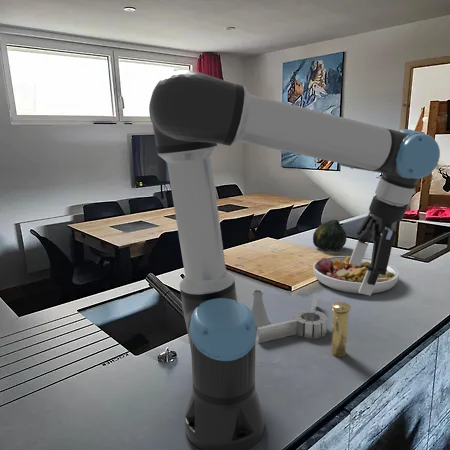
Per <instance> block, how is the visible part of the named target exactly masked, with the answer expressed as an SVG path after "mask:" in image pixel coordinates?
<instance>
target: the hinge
mask: <svg viewBox="0 0 450 450" xmlns="http://www.w3.org/2000/svg"><path fill="white" fill-rule="evenodd" d="M310 304H311V305H310V309H301V310H298V311H295V312H294V313H293V319H290V320H286V321H285V320H284V321H282V322H277V323H271V324H270V325H267V326H262V327H258V328H256V333H257V334H256V343H258V344H261V343H265V342H269V341H274V340H278V339H282V338H283V339H284V338H286V337H291V336H294V335H295V336H296V335H297V336H298V337H299V336H300V337H303V338H305V339H319V338H324V337H325V336H327V333H328V322H329V321H328V320H329V319H328V318H329V317H328V316H327V315H326V314H325V313H324V312H322V311H319V310H317V305H318V294H316V293H313V297H312V301H311V303H310Z"/></svg>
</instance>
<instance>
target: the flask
mask: <svg viewBox="0 0 450 450" xmlns="http://www.w3.org/2000/svg"><path fill="white" fill-rule="evenodd" d="M252 294H253V297H252V302H251V305H250V308H249V309H250V310H251V311H252V313H253V315H254V318H255V325H256V329H257V328H258V327H262V326H267V325H271V324H270V319H269V316H268V314H267V310H266V308H265V305H264V300H263V295H264V290H263V289H259V288H258V289H257V288H256V289H253V290H252Z"/></svg>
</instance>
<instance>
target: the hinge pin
mask: <svg viewBox="0 0 450 450" xmlns="http://www.w3.org/2000/svg"><path fill="white" fill-rule="evenodd" d="M331 310H332V323H331V324H332V328H331V345H330V348H331V349H330V354H331V355H333V356H334V357H337V358H342V357H346V354H347V341H348V328H349V327H348V325H349V313H350V311H351V305H350V304H349V303H346V302H342V301H336V302H332V303H331Z"/></svg>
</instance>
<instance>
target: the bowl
mask: <svg viewBox="0 0 450 450" xmlns="http://www.w3.org/2000/svg"><path fill="white" fill-rule="evenodd" d="M351 256H352V255H349V256H348V255H337V256H329V257H322V258H321V259H318V260H316V261H315V262H314V263H313V265H312V266H313V274H314V276H315V278H316V279H317V280H318V281H319V283H321V284H323V285H324V286H327V287H329V288H330V289H333V290H337V291H340V292H345V293H351V294H361V293H359V289H360V287H361V284H362V282H363V279H364V277H365V274H366V272H367V268H368V267H370V266H371V259H372V258H369V257H363V259H362V261H361V264H360V266H356V265H352V264H349V261H350V259H351ZM399 279H400V272H399V270H398V269H397V268H396V267H395V266H393V265H391V264H389V263H388V266H387V271H386V274H385V275H381V274H380V275H379V278H378V280H377V282H376V284H375V287H374V289H373V291H372V294H377V293H381V292H382V293H383V292H385V291H389V290H390V289H392V288H393V287H394V286H395V285H396V284H397V283H398V281H399ZM361 295H362V294H361Z"/></svg>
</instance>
